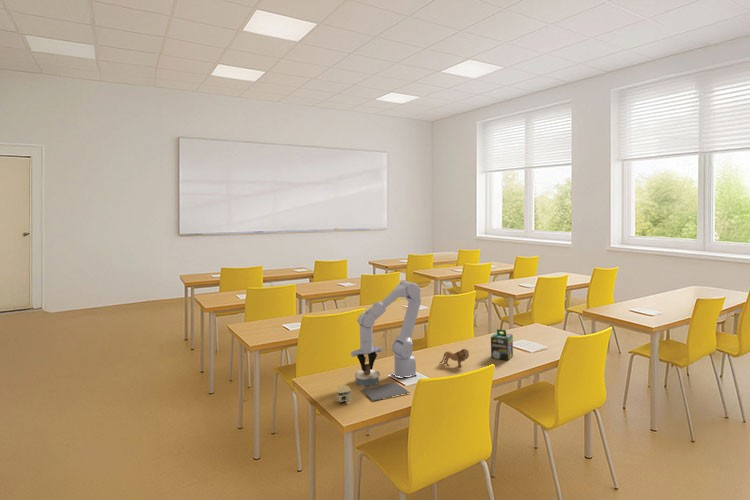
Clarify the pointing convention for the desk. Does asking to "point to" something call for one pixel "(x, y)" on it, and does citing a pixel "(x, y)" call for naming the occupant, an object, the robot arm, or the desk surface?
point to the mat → (384, 391)
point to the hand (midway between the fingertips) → (367, 369)
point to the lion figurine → (456, 356)
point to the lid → (367, 373)
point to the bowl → (367, 382)
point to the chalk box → (502, 345)
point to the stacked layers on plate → (344, 394)
